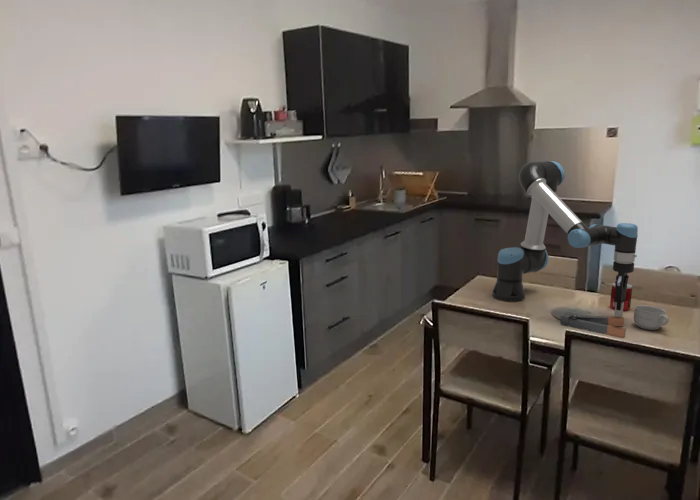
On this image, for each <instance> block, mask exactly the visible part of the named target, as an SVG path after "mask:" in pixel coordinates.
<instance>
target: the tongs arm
mask: <svg viewBox="0 0 700 500" xmlns="http://www.w3.org/2000/svg"><path fill="white" fill-rule="evenodd" d="M571 317H572V318H574V319H579V320H584V321H589V322H594V323H599V324H604V325H612V326H617V327H624V323H625V318H624V317H623V316H622V317H614V315H613V316H611V315H610V316H609V315H608V316H605V315H603V316H600V315H599V316H598V315H597V316H596V315H579V314H577V313H572V314H571Z"/></svg>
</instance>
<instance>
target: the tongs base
mask: <svg viewBox="0 0 700 500" xmlns="http://www.w3.org/2000/svg"><path fill="white" fill-rule="evenodd" d="M571 314H573V313H571V312H568V311H565V312H564V313H563V314H561V316H560V324H559V325H561V326H566V327H569V328H570V327H571V328H577V329H582V330H586V331H591V332H595V333H600V334H603V335H604V334H605V335H609V336H614V337H618V338H625V337H626V333H627V332H626V331H627V328H626V327H624V326H612V325H604V324H599V323H594V322H589V321H584V320H579V319H575V318H572V317H571Z"/></svg>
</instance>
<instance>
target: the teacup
mask: <svg viewBox="0 0 700 500" xmlns="http://www.w3.org/2000/svg"><path fill="white" fill-rule="evenodd" d="M633 321H634V323H635V324H636V326H638V327H639V328H641V329H644V330H649V331H652V330H653V331H654V330H657V329H659V328H662V327H663V326H666V325H668V324H669V322H670V319H669V316H668V315H667V314H666V310H665V309H663V308H660V307H657V306H652V305H645V304H644V305H643V304H639V305H634V311H633Z"/></svg>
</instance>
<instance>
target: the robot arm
mask: <svg viewBox="0 0 700 500" xmlns="http://www.w3.org/2000/svg"><path fill="white" fill-rule="evenodd" d="M565 177H566V175H565V170H564V168H563V166H562V165H561V164H560V163H559V162H557V161H554V160H553V161H552V160H545V161H530V162H528V163H525V164H524V165H523V166H522V167H521V169H520V171H519V173H518V183H519V184H520V186H521V188H522V189H523V190H524V192H525V193H526V194H527V195H528V196H532V197H531V202H530V207H529V212H528V219H527V225H526V230H525V236H524V237H525V238H524V240H523V241H522V242H520V246H519V247H506V248H505V247H504V248H502V249H500V250H499V251H498V253H497V260H496V261H497V267H496V282H495V284H494V286H493V288H492V293H491V294H492V297H493V298H494V299H496V300H497V301H498V300H499V301H503V302H520V301H523V300H525V299H526V291H525V288H524V284H523V275H525V274H528V273H536V272H539V271H542V270H544V269H545V268H546V267H547V266H548V262H549V259H550V258H549V254H548V251H547V247H546V246H545V244H544V241H545V235H546V229H547V224H548V218H549V216H550V217H551V218H552V219H553V220H554V221H555V222H556V223H557V225H558V226H559V227H560V228H561V229H562V230H563V231H564V232H565V233H566V234H567V241H568V244H569V245H570V246H571V247H572V248H577V249H580V248H582V249H583V248H587V247H591V246H598V245H604V244H605V245H610V246H614V252H613V260H614V261H613V263H612V270H613V271H614V272H617V275H615V276H616V277H615V282H614V283H615V300H614V302H616V305H615V310H614V315H613V317H623V315H624V311H623V306H624V302H626V300H624V299H625V298H626V297H625V296H626V289H627V284H629V283H628V282H629V279H630V276H629V275H628V274H631V273H633V272H634V271H635V261H636V260H635V258H637V257H638V255H637V254H636V252H637V251H636V249H637V242H638V240H637V239H638V236H639V233H638V231H639V230H638V229H639V227H638V225H636V224H635V223H630V222H629V223H627V222H621V223H620V222H619V223H617V225H616V227H615V226H609V225H604V224H595V223H594V224H591V225H590V226H589V227H588V226H587V225H586V224H585V223H584V222H583V221H582V220H581V219H580V218H579V216H577V215H576V214H575V213H574V212H573V210H571V208H570V207H569V206H568V205H567V204H566V202H564V201H563V200H562V199H561V198H560V196H559V195H557V194H556V193H557V191H558V186H560V185H561V184H563V183H564V180H565ZM623 301H624V302H623Z"/></svg>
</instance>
